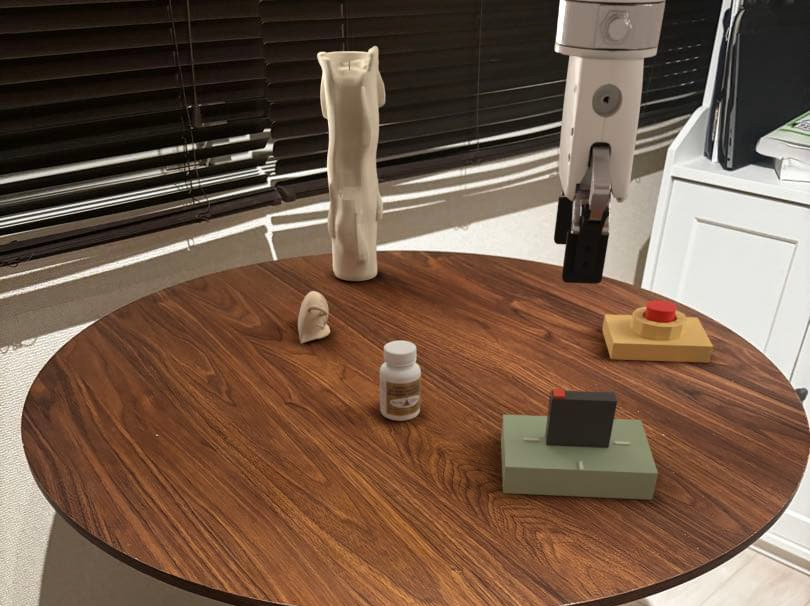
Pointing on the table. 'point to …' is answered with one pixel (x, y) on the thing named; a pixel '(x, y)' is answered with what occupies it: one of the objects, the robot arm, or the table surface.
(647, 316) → the button
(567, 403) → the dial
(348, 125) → the vase
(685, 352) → the button block
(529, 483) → the block
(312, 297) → the decorative ornament
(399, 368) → the pill bottle
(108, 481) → the table surface
